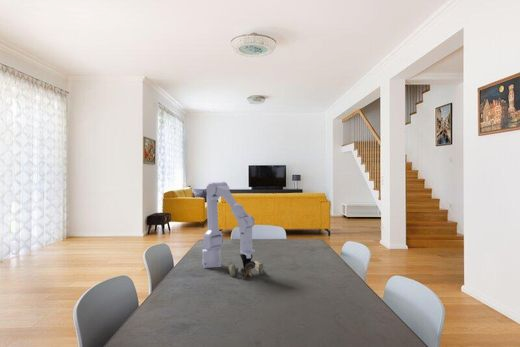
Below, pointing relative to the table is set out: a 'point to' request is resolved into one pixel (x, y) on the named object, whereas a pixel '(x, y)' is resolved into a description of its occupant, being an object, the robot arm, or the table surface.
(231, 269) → the wooden matchsticks
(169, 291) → the table surface
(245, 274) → the eagle figurine
